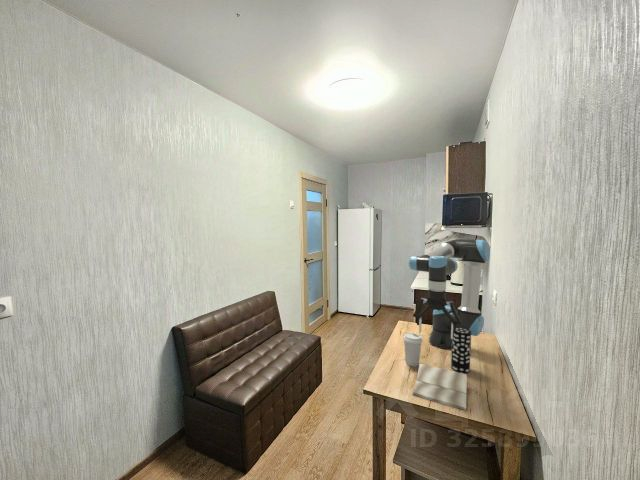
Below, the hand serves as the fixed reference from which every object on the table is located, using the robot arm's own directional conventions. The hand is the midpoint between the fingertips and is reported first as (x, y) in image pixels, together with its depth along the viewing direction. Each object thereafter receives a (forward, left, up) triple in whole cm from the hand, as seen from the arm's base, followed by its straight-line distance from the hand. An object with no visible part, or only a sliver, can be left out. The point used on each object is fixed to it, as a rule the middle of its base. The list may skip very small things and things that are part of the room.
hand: (435, 334), depth 125 cm
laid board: (+7, +10, -21) cm, 25 cm away
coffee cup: (0, -15, -22) cm, 26 cm away
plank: (0, +4, -19) cm, 19 cm away
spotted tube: (-19, -2, -22) cm, 29 cm away
